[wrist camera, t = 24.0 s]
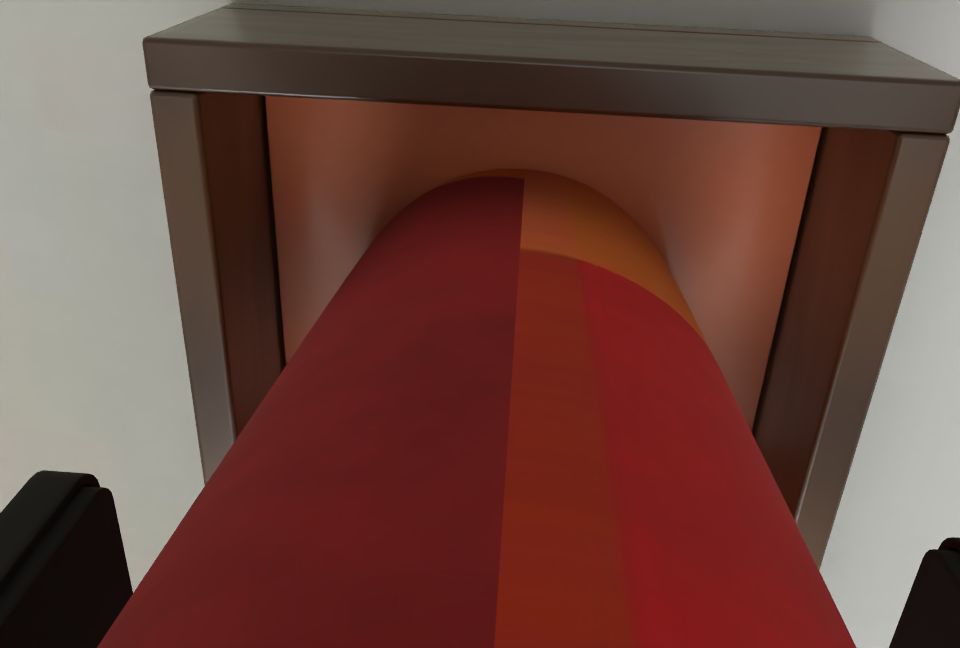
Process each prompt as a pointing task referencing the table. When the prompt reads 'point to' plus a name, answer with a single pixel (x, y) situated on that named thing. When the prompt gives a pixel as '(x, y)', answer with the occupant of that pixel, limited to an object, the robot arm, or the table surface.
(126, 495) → the table surface
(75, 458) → the table surface
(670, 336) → the coffee cup
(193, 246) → the organizer
